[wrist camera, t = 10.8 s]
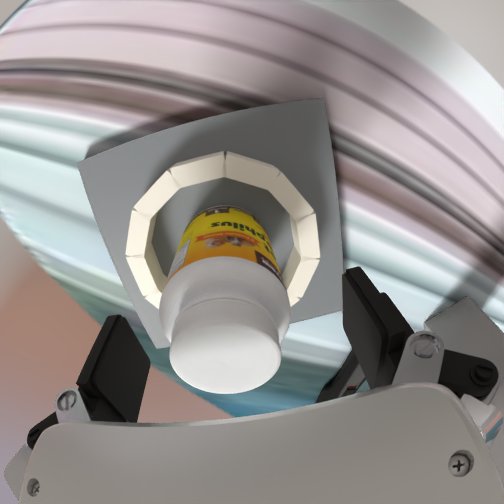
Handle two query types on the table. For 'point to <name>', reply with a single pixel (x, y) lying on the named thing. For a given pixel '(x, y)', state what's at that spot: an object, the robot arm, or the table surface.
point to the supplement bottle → (225, 303)
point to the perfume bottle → (469, 333)
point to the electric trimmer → (344, 380)
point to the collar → (224, 200)
